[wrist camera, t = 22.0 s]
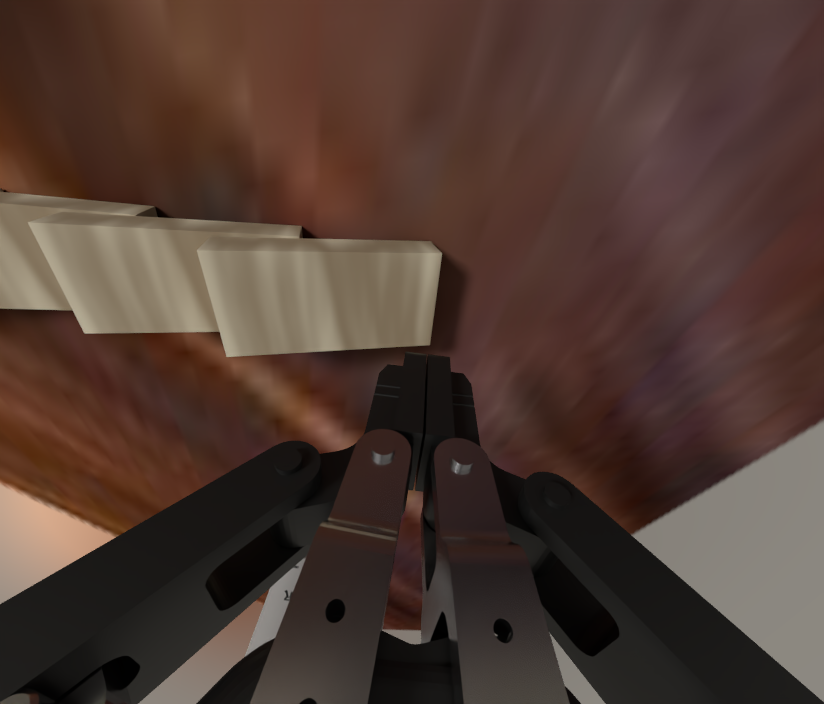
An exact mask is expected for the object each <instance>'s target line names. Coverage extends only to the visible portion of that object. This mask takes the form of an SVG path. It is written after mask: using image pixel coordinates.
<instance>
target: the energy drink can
mask: <svg viewBox="0 0 824 704" xmlns="http://www.w3.org/2000/svg"><path fill="white" fill-rule="evenodd" d="M306 557H307V556H306ZM306 557H305V558H303V559H302V560H301V561H300V562H299V563H298V564H297V565H295V566H294V567H293V568H292V569H291V570H290V571H289V572H287V573H286V574H285V575H284V576H283V577H282V578H281V579H279V580H278V581H277V582H276V583H275V584H274V585H273V586H271V587H270V590H269V593H268V595H267V598H266V601H265V604H264V606H263V609H262V612H261V615H260V617H259V620H258V622H257V625H256V628H255V630H254V633H253V636H252V639H251V642H250V644H249V647H248V650H247V652H246V655H245V656H247V655H248V654H249V653H250V652H252V651H253V650H255V649H256V648H258V647H259V646H261V645H262V644H264V643H266V642H268V641H270V640H272V639H274V638H275V637H276V635H277V632H278V629H279V627H280V624H281V622H282V619H283V616H284V614H285V611H286V609H287V606H288V603H289V601H290V598H291V596H292V593H293V590H294V588H295V585H296V583H297V580H298V577H299V575H300V572H301V570H302V567H303V564H304V562H305V559H306Z"/></svg>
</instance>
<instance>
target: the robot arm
mask: <svg viewBox="0 0 824 704" xmlns="http://www.w3.org/2000/svg"><path fill="white" fill-rule="evenodd" d="M426 357H427V355H426V354H420V353H412V352H405V358H404V365H403V366H397V365H389V364H388V365H387V366H386V367H385V368H384V369H383V370H382V371H381V372H380V373H379V377H378V381H377V386H376V389H375V394H374V397H373V401H372V405H371V410H370V414H369V418H368V422H367V426H366V430H365V433H364V435H363V436H362V437H361V438H360V439H359V440H358V441H357V443H356V444H354V445H353V446H351V447H349V448H347V449H344V450H340V451H336V452H329V453H323V454H319V452H318V451H317V449H316V448H315V447H313V446H312V445H310V444H309V443H306V442H302V441H288V442H283V443H280V444H278V445H276V446H274V447H272V448H270V449H268V450H267V451H265V452H263V453H261V454H260V455H258V456H256V457H254V458H253V459H251V460H249V461H248V462H246V463H244V464H242V465H241V466H239V467H237V468H235V469H234V470H232V471H230V472H229V473H227V474H225V475H223V476H222V477H220V478H218V479H216V480H215V481H213V482H211V483H209V484H208V485H206V486H204V487H203V488H201V489H199V490H197V491H196V492H194V493H192V494H190V495H189V496H187V497H185V498H183V499H182V500H180V501H178V502H177V503H175V504H173V505H171V506H170V507H168V508H166V509H164V510H163V511H161V512H159V513H158V514H156V515H154V516H152V517H151V518H149V519H147V520H145V521H144V522H142V523H140V524H138V525H137V526H135V527H133V528H132V529H130V530H128V531H126V532H125V533H123V534H121V535H119V536H118V537H116V538H114V539H113V540H111V541H109V542H107V543H106V544H104V545H102V546H100V547H99V548H97V549H95V550H94V551H92V552H90V553H88V554H87V555H85V556H83V557H81V558H80V559H78V560H76V561H74V562H73V563H71V564H69V565H67V566H66V567H64V568H62V569H61V570H59V571H57V572H55V573H54V574H52V575H50V576H49V577H47V578H45V579H43V580H42V581H40V582H38V583H36V584H35V585H33V586H31V587H30V588H28V589H26V590H24V591H22V592H21V593H19V594H17V595H16V596H14V597H12V598H10V599H9V600H7V601H5V602H4V603H2V604H0V704H138V703H139V702H140V701H141V700H143V699H144V698H145V697H146V696H147V695H148V694H149V693H151V692H152V691H153V690H154V689H155V688H156V687H157V686H159V685H160V684H161V683H162V682H163V681H164V680H165V679H167V678H168V677H169V676H170V675H171V674H172V673H173V672H175V671H176V670H177V669H178V668H179V667H180V666H181V665H182V664H184V663H185V662H186V661H187V660H188V659H189V658H190V657H192V656H193V655H194V654H195V653H196V652H197V651H198V650H199V649H201V648H202V647H203V646H204V645H205V644H206V643H208V642H209V641H210V640H211V639H212V638H213V637H214V636H215V635H217V634H218V633H219V632H220V631H221V630H222V629H224V628H225V627H226V626H227V625H228V624H229V623H230V622H232V621H233V620H234V619H235V618H236V617H237V616H238V615H240V614H241V613H242V612H243V611H244V610H245V609H246V608H247V607H248V606H250V605H251V604H252V603H253V602H254V601H256V600H257V599H258V598H259V597H260V596H261V595H262V594H263V593H265V592H266V591H267V590H268V589H269V588H270V587H271V586H273V585H274V584H275V583H276V582H277V581H278V580H279V579H281V578H282V577H283V576H284V575H285V574H286V573H287V572H289V571H290V570H291V569H292V568H293V567H294V566H295V565H297V564H298V563H299V562H300V561H301V560H302V559H303V558H305V557H306V556H307V557H306V559H305V562H304V564H303V567H302V570H301V572H300V575H299V577H298V580H297V583H296V585H295V588H294V590H293V593H292V596H291V598H290V601H289V603H288V606H287V609H286V611H285V614H284V616H283V619H282V622H281V624H280V627H279V629H278V632H277V635H276V637H275V638H274V639H272V640H270V641H268V642H266V643H264V644H262V645H261V646H259V647H258V648H256V649H255V650H253V651H252V652H250V653H249V654H248V655H247V656H245V657H244V658H243V659H242V660H241V661H239V662H238V663H237V664H236V665H234V666H233V667H232V668H231V669H230V670H229V671H228V672H227V673H226V674H225V675H224V676H223V677H222V678H221V679H220V680H219V681H218V682H217V683H216V684H215V685H214V686H213V687H212V688H211V689H210V690H209V691H208V692H207V694H205V696H203V697H202V699H201V700H200V701H199V702H198V703H197V704H581V703H580V702H579V701H578V700H577V699H576V697H575V696H574V695H573V694H572V693H571V692H570V691H569V690H568V689H567V688H566V687H565V685H564V682H563V679H562V675H561V671H560V668H559V665H558V661H557V658H556V654H555V651H554V647H553V644H552V640H551V637H550V633H551V635H552V636H553V637H554V639H555V640H556V641H557V642H558V644H559V645H560V646H561V647H562V649H563V650H564V651H565V653H566V654H567V655H568V656H569V657H570V659H571V660H572V661H573V663H574V664H575V665H576V667H577V668H578V669H579V670H580V672H581V673H582V674H583V675H584V677H585V678H586V679H587V680H588V682H589V683H590V684H591V686H592V687H593V688H594V689H595V691H596V692H597V693H598V694H599V696H600V697H601V698H602V700H603V701H604V702H605V703H606V704H824V702H823V701H822V700H820V699H819V698H818V697H817V696H816V695H815V694H813V693H812V692H811V691H810V690H809V689H808V688H806V687H805V686H804V685H803V684H802V683H801V682H799V681H798V680H797V679H796V678H795V677H794V676H792V674H790V673H789V672H788V671H787V670H786V669H785V668H784V667H782V666H781V665H780V664H779V663H778V662H777V661H775V660H774V659H773V658H772V657H771V656H770V655H768V654H767V653H766V652H765V651H764V650H762V648H760V647H759V646H758V645H757V644H756V643H755V642H754V641H752V640H751V639H750V638H749V637H748V636H747V635H745V634H744V633H743V632H742V631H741V630H740V629H738V628H737V627H736V626H735V625H734V624H733V623H732V622H730V621H729V620H728V619H727V618H726V617H725V616H724V615H722V614H721V613H720V612H719V611H718V610H717V609H716V608H714V607H713V606H712V605H711V604H710V603H709V602H707V601H706V600H705V599H704V598H703V597H701V596H700V595H699V594H698V593H697V592H696V591H695V590H694V589H692V588H691V587H690V586H689V585H688V584H687V583H686V582H684V581H683V580H682V579H681V578H680V577H678V576H677V575H676V574H675V573H674V572H673V571H672V570H670V569H669V568H668V567H667V566H666V565H665V564H664V563H662V562H661V561H660V560H659V559H658V558H657V557H656V556H654V555H653V554H652V553H651V552H650V551H649V550H647V549H646V548H645V547H644V546H643V545H642V544H641V543H639V542H638V541H637V540H636V539H635V538H634V537H633V536H631V535H630V534H629V533H628V532H627V531H626V530H624V529H623V528H622V527H621V526H620V525H619V524H618V523H616V522H615V521H614V520H613V519H612V518H611V517H609V516H608V515H607V514H606V513H605V512H604V511H603V510H601V509H600V508H599V507H598V506H597V505H596V504H594V503H593V502H592V501H591V500H590V499H589V498H588V497H586V496H585V495H584V494H583V493H582V492H581V491H580V490H578V489H577V488H576V487H575V486H574V485H573V484H571V483H570V482H569V481H567V480H566V479H564V478H563V477H561V476H559V475H556V474H553V473H549V472H537V473H533V474H532V475H530V476H529V477H528V478H527V479H526V480H525V479H523V478H520V477H518V476H516V475H513V474H511V473H508V472H506V471H504V470H502V469H500V468H498V467H497V466H495V465H494V464H493V463H491V462H490V461H489V458H488V456H487V454H486V453H485V451H484V450H483V449H482V448H481V446H480V442H479V435H478V428H477V421H476V414H475V407H474V400H473V393H472V387H471V383H470V382H469V381H468V379H467V378H466V376H465V375H464V374H463V373H454V372H451V368H450V357H445V356H437V355H429V354H428V357H427V363H426ZM415 476H416V487H415V491H423V508H422V513H421V519H420V522H421V551H422V580H423V606H422V619H421V644H416V645H414V644H409V643H407V642H405V641H403V640H400V639H398V638H396V637H394V636H392V635H390V634H388V633H386V632H384V631H382V629H383V623H384V617H385V611H386V605H387V598H388V593H389V587H390V581H391V575H392V569H393V563H394V557H395V552H396V546H397V540H398V534H399V528H400V522H401V517H402V515H403V513H404V511H405V506H406V500H407V494H408V490H413V487H414V482H415ZM549 632H550V633H549Z"/></svg>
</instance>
